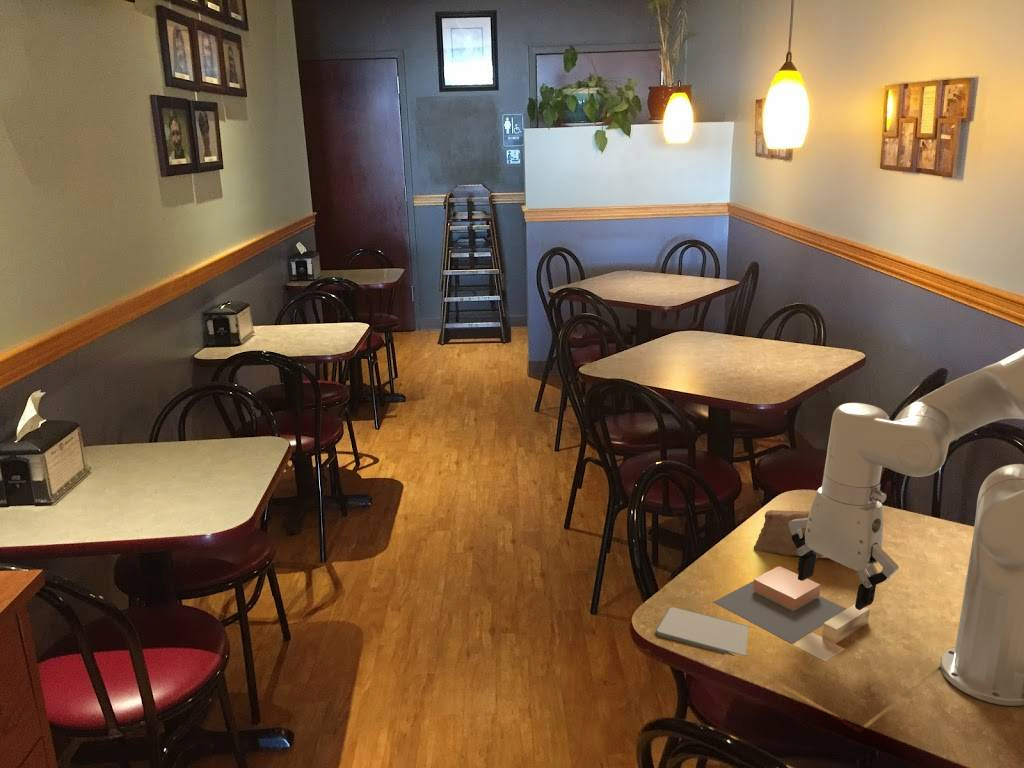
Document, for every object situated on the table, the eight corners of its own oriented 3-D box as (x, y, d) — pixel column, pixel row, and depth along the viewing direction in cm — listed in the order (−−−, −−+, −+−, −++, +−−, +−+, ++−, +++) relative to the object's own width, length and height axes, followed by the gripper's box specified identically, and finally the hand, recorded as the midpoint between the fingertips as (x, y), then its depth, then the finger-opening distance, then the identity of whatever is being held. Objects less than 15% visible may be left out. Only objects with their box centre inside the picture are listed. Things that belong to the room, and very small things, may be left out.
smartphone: (752, 658, 123) (654, 631, 130) (751, 663, 124) (653, 636, 130) (763, 629, 130) (669, 605, 137) (763, 634, 131) (669, 610, 137)
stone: (753, 547, 157) (753, 559, 154) (753, 504, 153) (753, 516, 150) (860, 552, 152) (862, 565, 148) (863, 508, 148) (865, 520, 144)
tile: (820, 584, 138) (779, 565, 144) (795, 599, 134) (753, 579, 140) (819, 597, 138) (778, 578, 145) (793, 612, 134) (752, 592, 141)
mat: (847, 611, 135) (847, 609, 135) (791, 645, 127) (791, 643, 126) (769, 574, 147) (769, 572, 147) (712, 603, 138) (713, 601, 138)
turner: (845, 614, 134) (847, 598, 134) (877, 630, 130) (879, 613, 129) (792, 647, 126) (794, 629, 126) (825, 664, 122) (827, 646, 121)
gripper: (921, 503, 117) (900, 609, 122) (812, 462, 130) (798, 560, 135) (892, 518, 113) (872, 627, 118) (783, 474, 126) (769, 574, 131)
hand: (833, 591), depth 127 cm, fingers open, 9 cm apart
